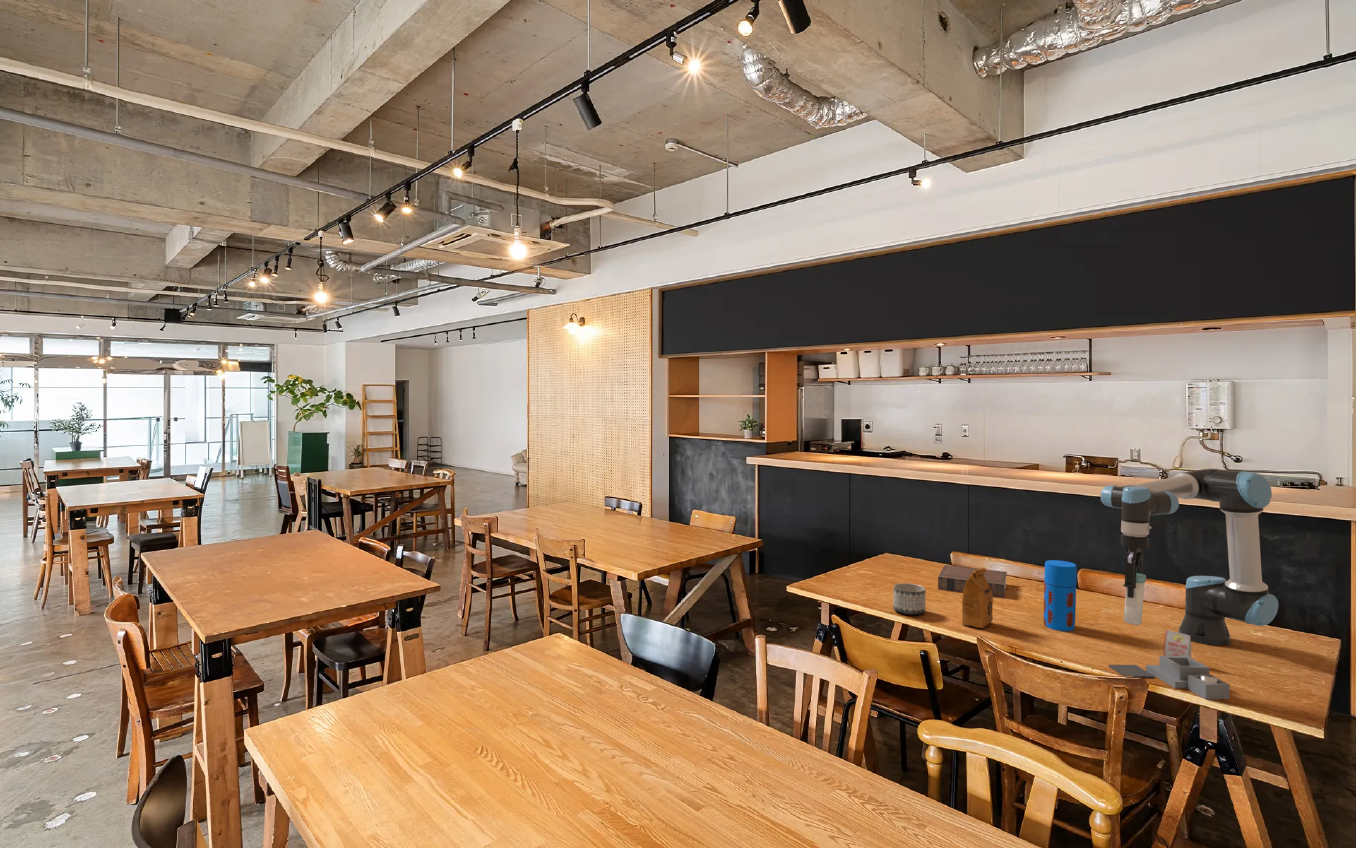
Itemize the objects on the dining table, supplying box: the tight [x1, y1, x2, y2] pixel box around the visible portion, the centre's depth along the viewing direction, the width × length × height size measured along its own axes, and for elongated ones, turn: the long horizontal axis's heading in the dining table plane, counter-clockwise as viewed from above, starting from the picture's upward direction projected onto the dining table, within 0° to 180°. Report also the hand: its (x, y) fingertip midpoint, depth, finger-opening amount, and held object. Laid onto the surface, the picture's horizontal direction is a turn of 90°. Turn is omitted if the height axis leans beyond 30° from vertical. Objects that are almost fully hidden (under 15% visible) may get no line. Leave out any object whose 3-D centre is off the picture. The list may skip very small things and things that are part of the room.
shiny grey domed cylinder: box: [1200, 673, 1218, 683], centre depth 200 cm, size 4×4×5 cm
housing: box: [1145, 655, 1231, 700], centre depth 207 cm, size 20×14×6 cm
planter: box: [892, 582, 927, 616], centre depth 277 cm, size 13×13×10 cm
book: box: [937, 564, 1008, 599], centre depth 314 cm, size 24×28×6 cm
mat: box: [1108, 664, 1156, 679], centre depth 217 cm, size 9×9×1 cm
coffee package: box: [961, 567, 994, 629], centre depth 262 cm, size 10×12×22 cm
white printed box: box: [1163, 629, 1192, 658], centre depth 225 cm, size 4×7×10 cm, turn 39°
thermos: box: [1043, 559, 1078, 632], centre depth 259 cm, size 11×11×25 cm
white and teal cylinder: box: [1123, 573, 1147, 626], centre depth 215 cm, size 5×5×16 cm
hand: (1132, 605), depth 216 cm, fingers closed on white and teal cylinder, 5 cm apart
